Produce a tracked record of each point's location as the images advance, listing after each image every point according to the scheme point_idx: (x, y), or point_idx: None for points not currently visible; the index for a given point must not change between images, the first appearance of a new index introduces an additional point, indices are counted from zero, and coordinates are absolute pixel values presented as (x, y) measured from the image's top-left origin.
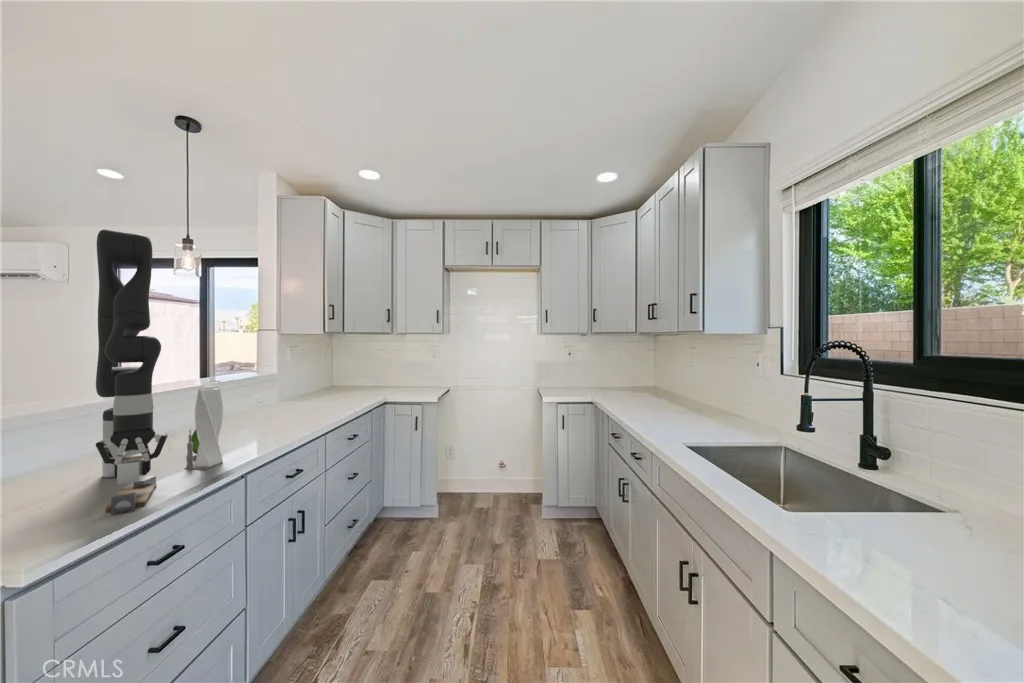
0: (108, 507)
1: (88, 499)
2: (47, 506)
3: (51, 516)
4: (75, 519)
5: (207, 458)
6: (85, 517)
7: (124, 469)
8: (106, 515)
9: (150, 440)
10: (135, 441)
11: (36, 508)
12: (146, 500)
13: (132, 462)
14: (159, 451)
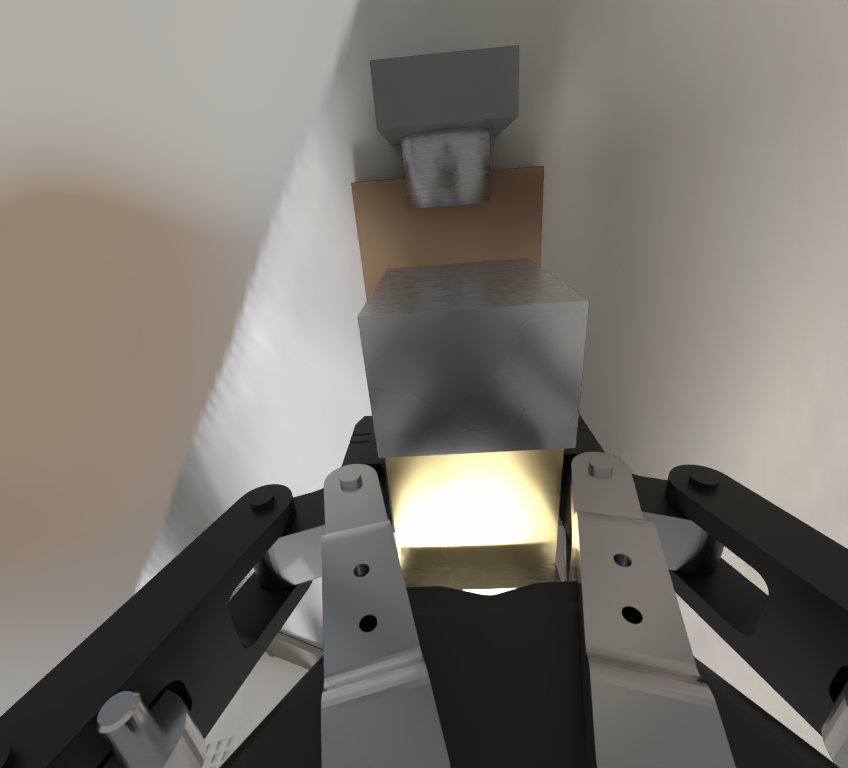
0: (531, 173)
1: (646, 448)
2: (792, 432)
3: (777, 257)
4: (669, 119)
5: (241, 693)
6: (624, 129)
7: (498, 285)
8: (522, 98)
9: (237, 753)
10: (460, 753)
11: (831, 426)
12: (359, 232)
13: (430, 322)
14: (203, 539)
